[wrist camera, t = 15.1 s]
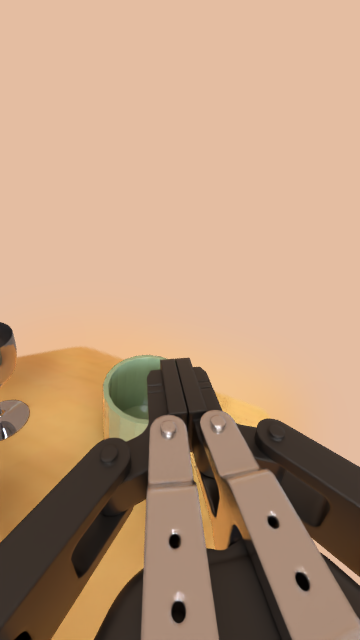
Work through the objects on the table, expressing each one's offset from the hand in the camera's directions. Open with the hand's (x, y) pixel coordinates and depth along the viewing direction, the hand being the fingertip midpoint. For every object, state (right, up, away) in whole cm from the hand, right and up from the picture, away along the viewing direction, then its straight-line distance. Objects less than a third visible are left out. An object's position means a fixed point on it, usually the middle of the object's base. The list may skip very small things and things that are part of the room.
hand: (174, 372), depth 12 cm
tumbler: (-5, -15, +23) cm, 29 cm away
